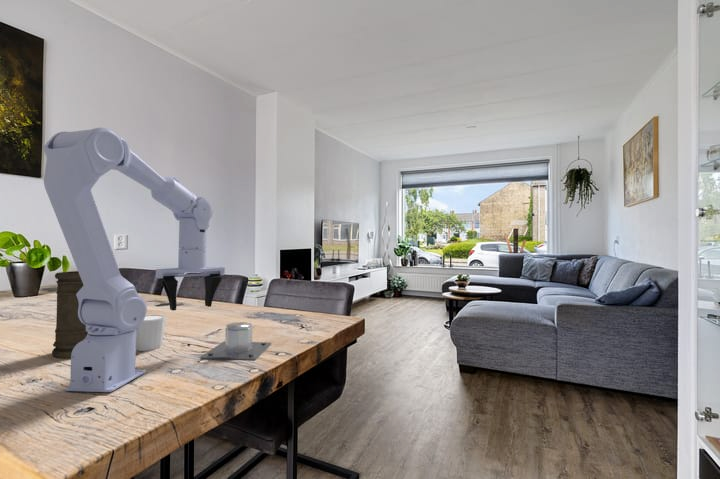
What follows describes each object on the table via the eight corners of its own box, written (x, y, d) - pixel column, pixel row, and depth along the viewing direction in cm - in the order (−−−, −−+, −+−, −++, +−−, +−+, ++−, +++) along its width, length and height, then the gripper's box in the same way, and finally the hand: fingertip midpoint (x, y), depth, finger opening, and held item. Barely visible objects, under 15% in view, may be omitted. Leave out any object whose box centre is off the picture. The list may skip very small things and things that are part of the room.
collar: (254, 350, 82) (255, 325, 82) (229, 354, 79) (230, 329, 79) (246, 344, 87) (246, 321, 87) (222, 347, 83) (222, 323, 84)
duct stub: (255, 359, 76) (255, 344, 76) (200, 358, 77) (201, 342, 77) (271, 344, 88) (271, 330, 88) (223, 342, 89) (224, 329, 89)
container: (74, 360, 75) (76, 274, 75) (40, 356, 76) (42, 272, 77) (112, 347, 83) (114, 271, 84) (80, 345, 85) (82, 269, 85)
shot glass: (125, 348, 83) (125, 318, 83) (153, 341, 89) (154, 313, 89) (142, 353, 80) (143, 322, 80) (171, 345, 86) (172, 316, 86)
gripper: (217, 248, 90) (216, 302, 90) (152, 248, 80) (151, 308, 80) (228, 249, 85) (227, 306, 85) (161, 249, 75) (159, 313, 75)
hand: (191, 307), depth 82 cm, fingers open, 7 cm apart
